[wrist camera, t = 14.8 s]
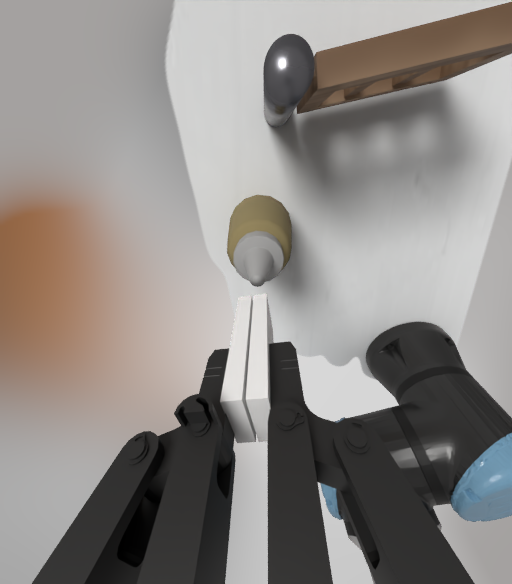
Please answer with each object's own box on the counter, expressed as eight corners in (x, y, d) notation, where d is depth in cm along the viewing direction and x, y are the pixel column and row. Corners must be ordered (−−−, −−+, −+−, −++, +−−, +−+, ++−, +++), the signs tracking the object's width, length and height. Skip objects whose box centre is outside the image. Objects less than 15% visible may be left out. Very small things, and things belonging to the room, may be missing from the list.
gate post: (291, 123, 27) (315, 96, 14) (266, 129, 27) (267, 108, 14) (288, 91, 25) (313, 27, 13) (262, 97, 26) (259, 41, 13)
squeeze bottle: (256, 176, 30) (248, 201, 15) (300, 217, 32) (333, 274, 17) (221, 224, 33) (185, 285, 18) (263, 257, 36) (263, 335, 20)
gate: (446, 79, 23) (575, 27, 13) (297, 114, 25) (317, 89, 15) (450, 55, 22) (592, -19, 13) (295, 92, 24) (316, 52, 14)
